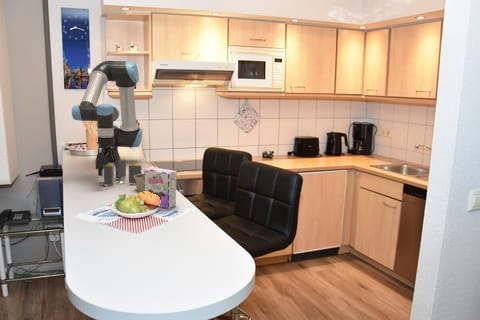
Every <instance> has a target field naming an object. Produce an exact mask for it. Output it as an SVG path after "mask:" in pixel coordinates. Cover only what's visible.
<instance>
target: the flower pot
mask: <svg viewBox="0 0 480 320" xmlns="http://www.w3.org/2000/svg"><path fill="white" fill-rule="evenodd" d="M134 178H135V180H136V185H135V186H136V190H137V192H139V193H142V192H141V191H144V173H142V174H137V175H135V176H134Z"/></svg>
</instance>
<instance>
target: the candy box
mask: <svg viewBox="0 0 480 320" xmlns="http://www.w3.org/2000/svg"><path fill="white" fill-rule="evenodd" d="M143 171H144V172H143V174H144V191H148V192H151V193H153V194H156V195H158V196H159V197H160V200H161V203H160V207H162V208H161V209H165V210H170V209H174V208H176V206H177V203H176V202H177V170H170V169H165V168H160V167H155V166H149V167H146V168H144V170H143ZM160 207H159V208H160Z"/></svg>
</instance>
